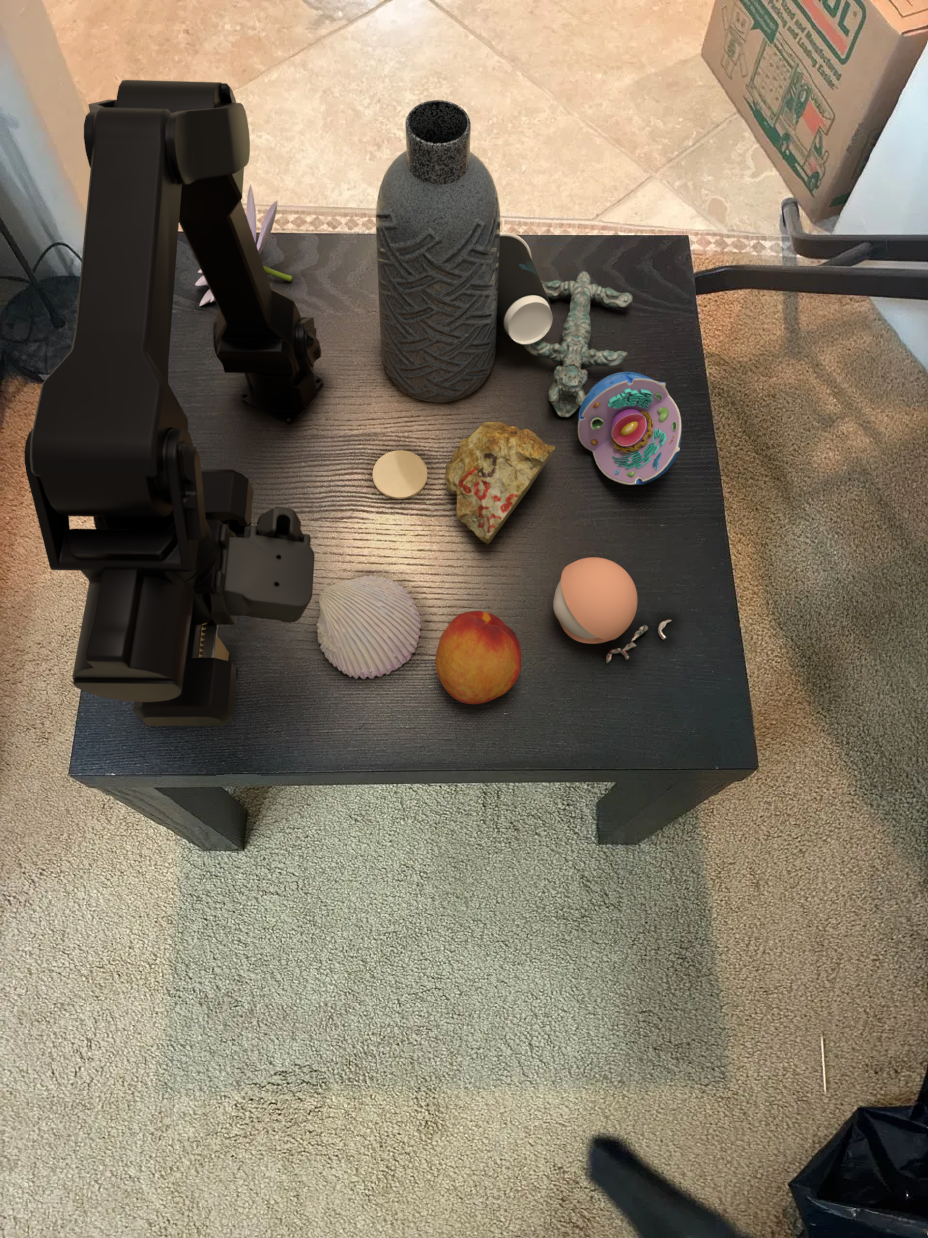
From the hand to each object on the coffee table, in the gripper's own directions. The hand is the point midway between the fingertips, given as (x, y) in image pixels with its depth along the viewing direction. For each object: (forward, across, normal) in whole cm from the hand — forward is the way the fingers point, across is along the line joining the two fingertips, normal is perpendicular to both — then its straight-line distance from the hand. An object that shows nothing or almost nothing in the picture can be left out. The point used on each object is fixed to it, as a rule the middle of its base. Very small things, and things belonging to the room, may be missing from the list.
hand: (224, 635), depth 69 cm
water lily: (+12, +47, 0) cm, 49 cm away
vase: (+12, +37, -17) cm, 42 cm away
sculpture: (+12, +38, -32) cm, 51 cm away
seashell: (+12, +5, -10) cm, 17 cm away
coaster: (+12, +22, -13) cm, 28 cm away
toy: (+12, +3, -36) cm, 38 cm away
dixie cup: (+5, +36, -26) cm, 45 cm away
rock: (+12, +20, -22) cm, 32 cm away
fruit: (+12, +1, -20) cm, 24 cm away
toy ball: (+12, +6, -31) cm, 34 cm away
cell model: (+11, +24, -39) cm, 47 cm away
